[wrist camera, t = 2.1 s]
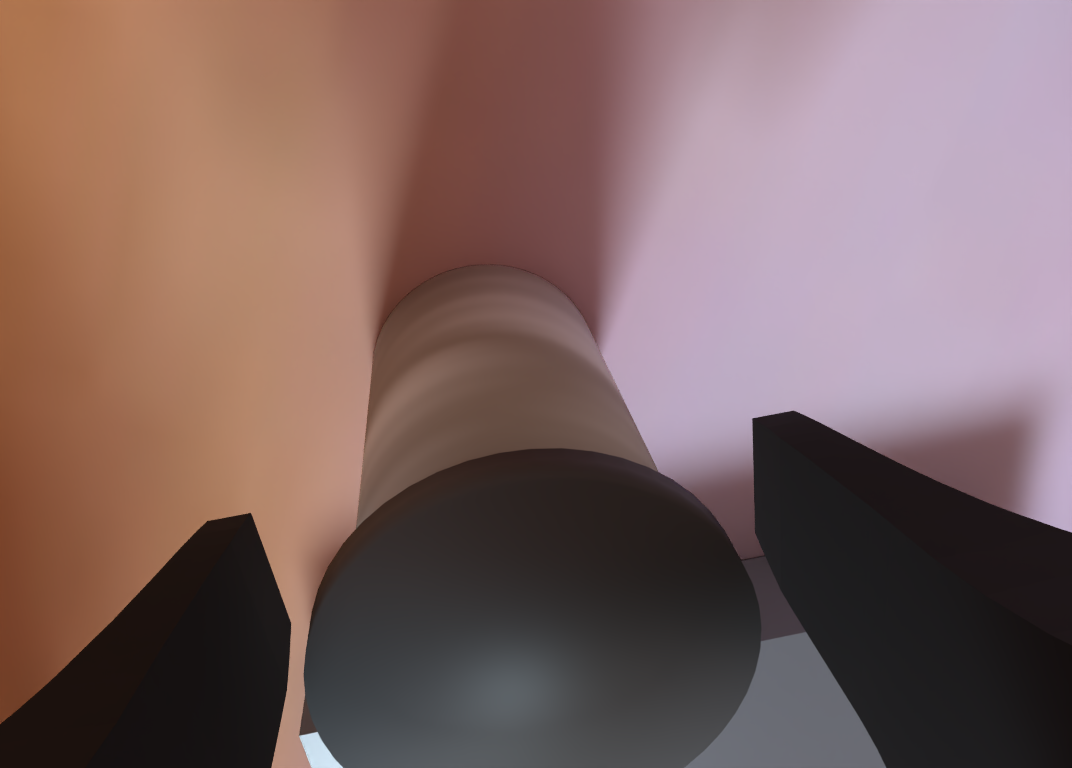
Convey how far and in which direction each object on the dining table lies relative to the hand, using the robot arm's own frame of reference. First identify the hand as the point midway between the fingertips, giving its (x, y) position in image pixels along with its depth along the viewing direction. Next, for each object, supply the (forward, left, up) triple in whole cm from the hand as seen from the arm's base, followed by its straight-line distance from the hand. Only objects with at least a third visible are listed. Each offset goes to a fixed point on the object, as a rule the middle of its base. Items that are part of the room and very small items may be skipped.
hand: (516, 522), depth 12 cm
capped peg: (0, 0, -5) cm, 5 cm away
